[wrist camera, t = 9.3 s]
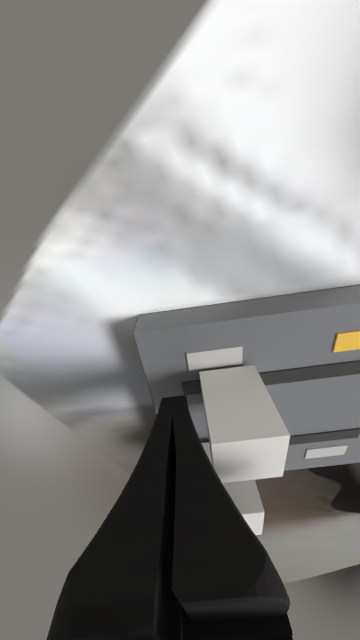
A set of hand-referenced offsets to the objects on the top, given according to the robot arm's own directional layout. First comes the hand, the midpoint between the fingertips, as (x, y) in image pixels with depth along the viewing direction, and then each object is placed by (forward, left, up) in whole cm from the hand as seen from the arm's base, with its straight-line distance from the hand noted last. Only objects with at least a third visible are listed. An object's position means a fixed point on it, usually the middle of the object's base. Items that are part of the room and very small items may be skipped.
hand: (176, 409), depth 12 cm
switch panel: (-3, -6, -3) cm, 8 cm away
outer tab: (0, -3, -1) cm, 3 cm away
